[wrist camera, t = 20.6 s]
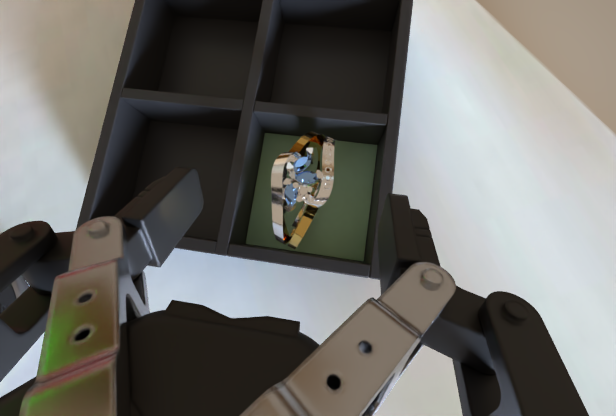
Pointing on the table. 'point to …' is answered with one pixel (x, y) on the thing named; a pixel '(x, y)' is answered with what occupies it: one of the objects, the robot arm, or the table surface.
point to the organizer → (258, 119)
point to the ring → (301, 185)
